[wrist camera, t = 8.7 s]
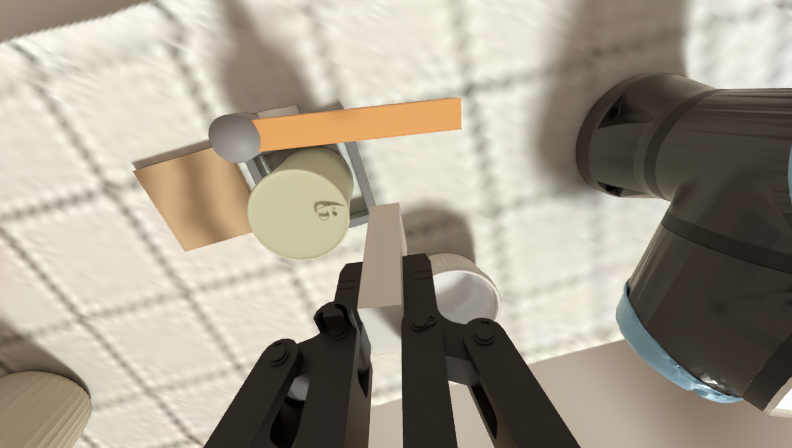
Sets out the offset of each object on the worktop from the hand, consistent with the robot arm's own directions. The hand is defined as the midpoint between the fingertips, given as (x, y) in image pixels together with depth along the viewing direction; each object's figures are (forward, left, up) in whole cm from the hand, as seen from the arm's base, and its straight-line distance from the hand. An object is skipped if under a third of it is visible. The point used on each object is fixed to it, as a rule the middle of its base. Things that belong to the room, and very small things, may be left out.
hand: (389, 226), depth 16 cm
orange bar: (+1, -5, -9) cm, 10 cm away
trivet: (+22, 0, -23) cm, 32 cm away
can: (+8, +2, -23) cm, 25 cm away
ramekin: (-4, +22, -24) cm, 32 cm away
